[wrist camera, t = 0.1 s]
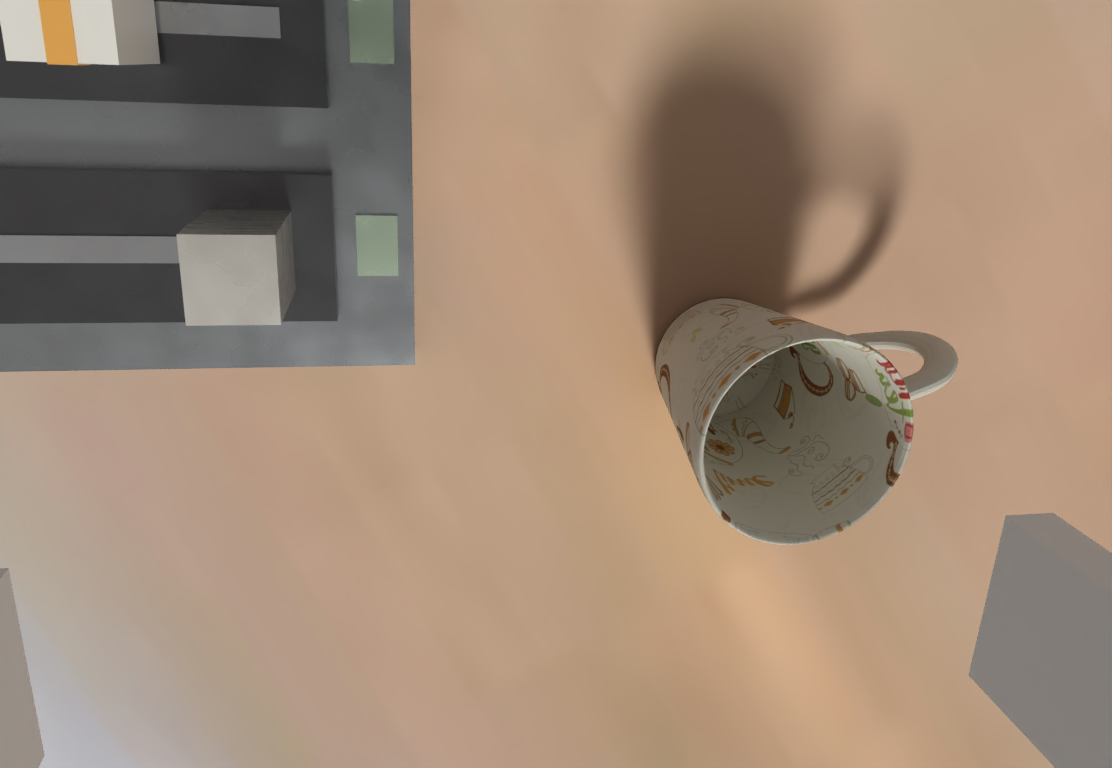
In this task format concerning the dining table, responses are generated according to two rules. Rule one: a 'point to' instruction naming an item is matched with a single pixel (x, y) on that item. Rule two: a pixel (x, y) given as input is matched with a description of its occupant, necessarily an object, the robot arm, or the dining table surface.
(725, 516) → the mug
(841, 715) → the dining table surface
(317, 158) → the panel
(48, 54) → the block
